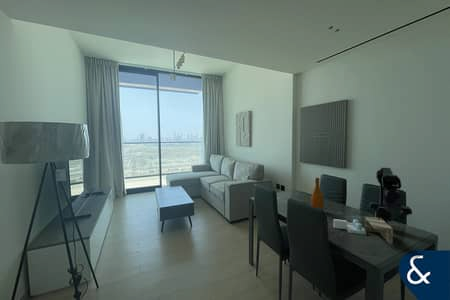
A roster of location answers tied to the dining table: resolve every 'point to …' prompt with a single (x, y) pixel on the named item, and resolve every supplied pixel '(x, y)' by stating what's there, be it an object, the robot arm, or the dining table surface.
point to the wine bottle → (317, 196)
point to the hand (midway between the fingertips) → (389, 221)
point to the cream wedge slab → (379, 228)
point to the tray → (350, 226)
